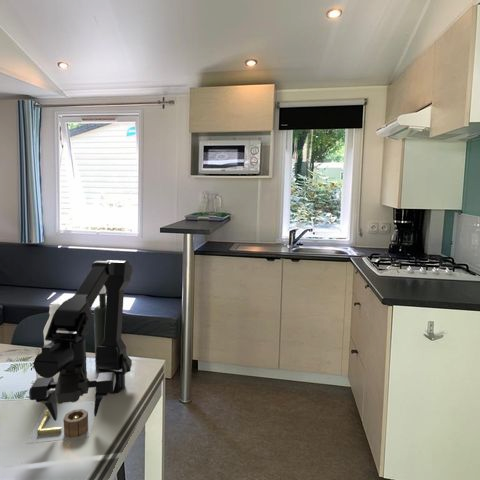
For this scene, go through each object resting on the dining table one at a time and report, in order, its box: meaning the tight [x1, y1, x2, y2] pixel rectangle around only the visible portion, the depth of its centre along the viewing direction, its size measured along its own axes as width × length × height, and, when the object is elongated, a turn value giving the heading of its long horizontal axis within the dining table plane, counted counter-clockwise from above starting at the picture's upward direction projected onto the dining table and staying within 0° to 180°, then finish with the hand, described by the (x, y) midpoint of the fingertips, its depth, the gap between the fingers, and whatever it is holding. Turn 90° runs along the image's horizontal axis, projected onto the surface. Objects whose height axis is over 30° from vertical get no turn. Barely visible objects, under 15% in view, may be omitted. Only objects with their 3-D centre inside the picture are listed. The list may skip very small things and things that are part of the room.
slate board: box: [25, 400, 96, 445], centre depth 97 cm, size 16×14×1 cm
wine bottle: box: [93, 286, 107, 374], centre depth 124 cm, size 6×6×30 cm
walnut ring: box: [64, 409, 88, 438], centre depth 92 cm, size 5×5×4 cm
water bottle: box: [43, 303, 70, 382], centre depth 116 cm, size 7×7×25 cm
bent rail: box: [37, 409, 62, 436], centre depth 95 cm, size 8×6×2 cm
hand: (75, 417), depth 92 cm, fingers open, 9 cm apart
